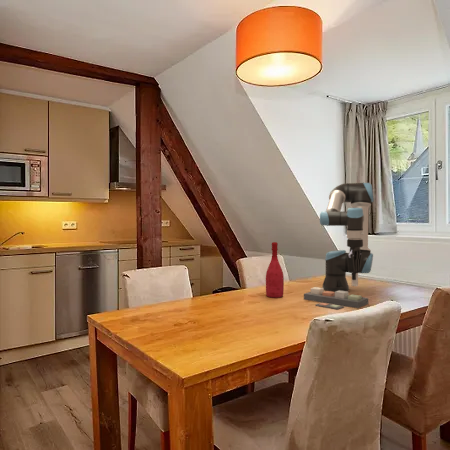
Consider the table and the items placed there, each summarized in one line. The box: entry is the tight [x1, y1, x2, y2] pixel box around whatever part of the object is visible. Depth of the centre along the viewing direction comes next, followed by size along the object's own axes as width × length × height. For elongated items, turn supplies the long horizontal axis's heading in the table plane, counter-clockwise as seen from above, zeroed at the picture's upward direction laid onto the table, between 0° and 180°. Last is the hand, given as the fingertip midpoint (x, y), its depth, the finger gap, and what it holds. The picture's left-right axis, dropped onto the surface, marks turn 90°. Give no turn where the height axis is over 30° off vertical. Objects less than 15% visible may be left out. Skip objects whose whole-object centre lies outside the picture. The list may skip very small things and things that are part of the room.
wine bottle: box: [265, 241, 285, 299], centre depth 216 cm, size 10×10×30 cm
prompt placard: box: [315, 302, 345, 310], centre depth 192 cm, size 12×6×1 cm, turn 47°
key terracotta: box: [322, 290, 336, 297], centre depth 206 cm, size 5×5×3 cm
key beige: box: [334, 290, 349, 299], centre depth 201 cm, size 5×5×3 cm
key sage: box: [348, 294, 363, 301], centre depth 196 cm, size 5×5×3 cm
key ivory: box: [310, 286, 325, 295], centre depth 210 cm, size 5×5×3 cm
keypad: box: [303, 291, 369, 309], centre depth 203 cm, size 30×12×3 cm, turn 47°
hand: (354, 285), depth 196 cm, fingers closed
